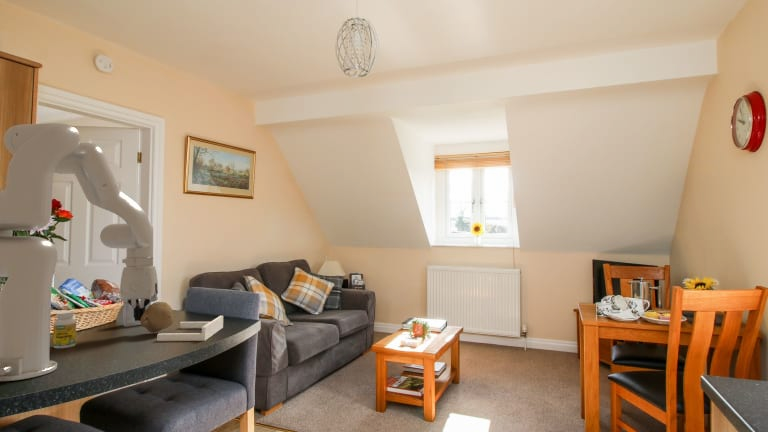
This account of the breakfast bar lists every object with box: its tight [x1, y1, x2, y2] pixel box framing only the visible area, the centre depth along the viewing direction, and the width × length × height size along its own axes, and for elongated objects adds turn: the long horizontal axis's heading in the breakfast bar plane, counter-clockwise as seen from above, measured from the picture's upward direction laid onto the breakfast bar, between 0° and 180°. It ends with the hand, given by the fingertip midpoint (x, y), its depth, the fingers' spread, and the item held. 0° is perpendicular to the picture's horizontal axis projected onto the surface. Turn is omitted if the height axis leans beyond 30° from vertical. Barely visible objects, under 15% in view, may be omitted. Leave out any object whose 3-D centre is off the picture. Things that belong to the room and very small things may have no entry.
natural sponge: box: [140, 301, 174, 334], centre depth 143 cm, size 9×9×10 cm
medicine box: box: [122, 299, 152, 328], centre depth 156 cm, size 8×4×9 cm, turn 130°
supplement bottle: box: [52, 310, 77, 349], centre depth 127 cm, size 5×5×10 cm
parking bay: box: [156, 315, 224, 342], centre depth 143 cm, size 18×14×4 cm
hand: (139, 319), depth 143 cm, fingers closed
